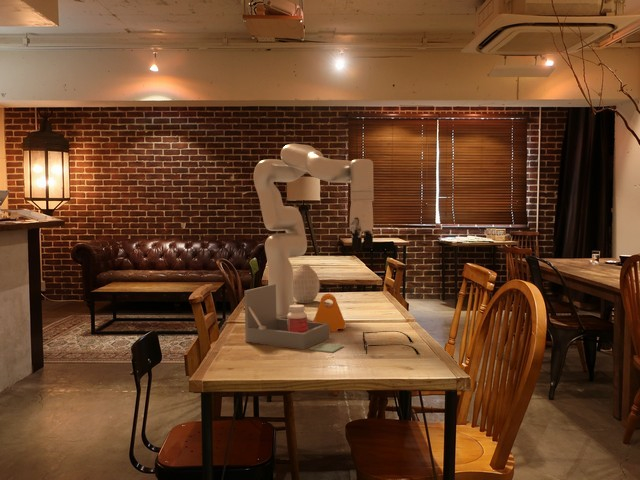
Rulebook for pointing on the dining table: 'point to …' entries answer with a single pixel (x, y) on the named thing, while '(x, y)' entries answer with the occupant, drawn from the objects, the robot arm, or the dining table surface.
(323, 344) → the mat
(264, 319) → the case
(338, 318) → the bracket
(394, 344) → the eyeglasses
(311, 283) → the vase
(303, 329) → the pill bottle
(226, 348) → the dining table surface
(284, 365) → the dining table surface
